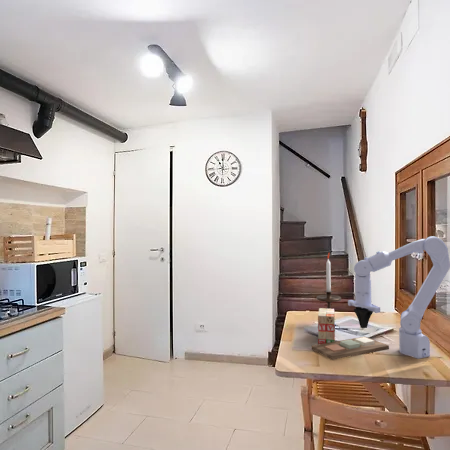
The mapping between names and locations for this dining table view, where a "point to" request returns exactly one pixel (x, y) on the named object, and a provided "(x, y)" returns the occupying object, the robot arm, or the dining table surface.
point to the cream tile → (364, 341)
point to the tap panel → (348, 352)
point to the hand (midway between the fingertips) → (363, 327)
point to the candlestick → (328, 288)
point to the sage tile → (349, 344)
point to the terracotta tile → (334, 348)
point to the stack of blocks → (326, 326)
